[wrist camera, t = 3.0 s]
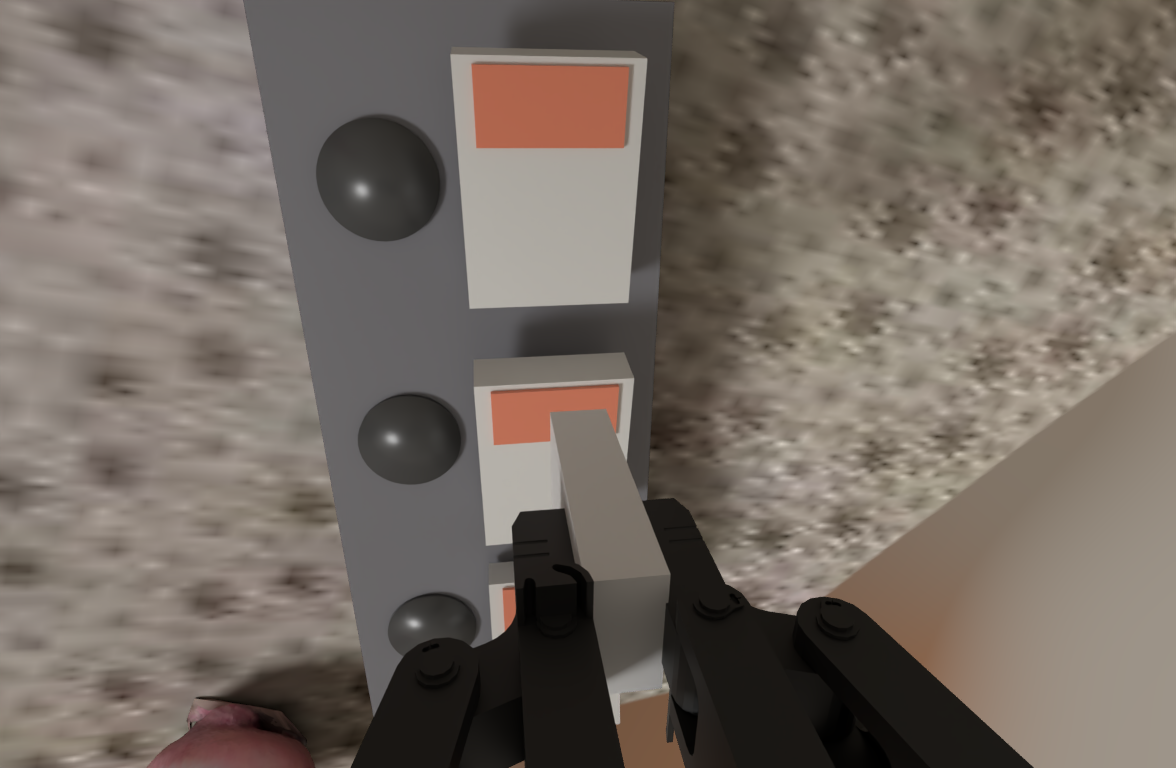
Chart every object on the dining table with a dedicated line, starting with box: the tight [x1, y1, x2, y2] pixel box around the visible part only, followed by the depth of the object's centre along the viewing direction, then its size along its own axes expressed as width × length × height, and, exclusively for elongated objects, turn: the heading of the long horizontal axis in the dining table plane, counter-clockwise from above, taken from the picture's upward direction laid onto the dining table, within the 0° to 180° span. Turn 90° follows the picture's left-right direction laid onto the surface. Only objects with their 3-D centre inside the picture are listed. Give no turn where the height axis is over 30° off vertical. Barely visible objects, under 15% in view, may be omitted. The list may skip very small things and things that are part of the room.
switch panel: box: [243, 0, 674, 716], centre depth 25 cm, size 12×28×4 cm, turn 0°
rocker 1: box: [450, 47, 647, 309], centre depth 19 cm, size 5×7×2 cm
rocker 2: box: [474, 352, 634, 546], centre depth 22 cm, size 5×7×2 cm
